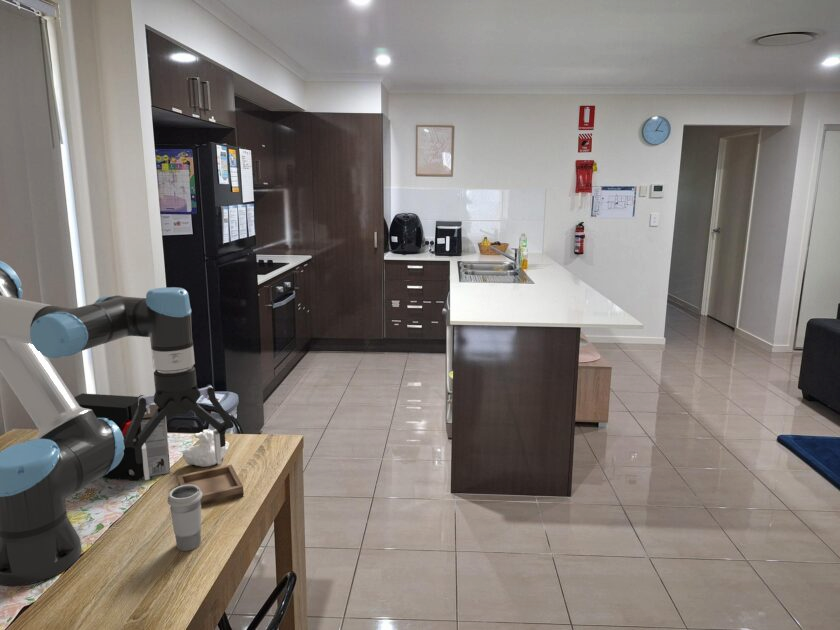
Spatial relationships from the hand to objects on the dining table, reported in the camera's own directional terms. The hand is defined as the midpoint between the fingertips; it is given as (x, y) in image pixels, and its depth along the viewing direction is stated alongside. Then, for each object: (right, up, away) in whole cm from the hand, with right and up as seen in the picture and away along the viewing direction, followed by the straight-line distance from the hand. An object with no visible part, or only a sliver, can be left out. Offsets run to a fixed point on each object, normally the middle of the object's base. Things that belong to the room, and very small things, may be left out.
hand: (183, 469), depth 120 cm
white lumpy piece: (-9, -9, +39) cm, 41 cm away
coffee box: (-22, -9, +37) cm, 44 cm away
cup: (0, -17, +4) cm, 17 cm away
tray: (-3, -12, +25) cm, 28 cm away
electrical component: (-31, -10, +34) cm, 47 cm away
